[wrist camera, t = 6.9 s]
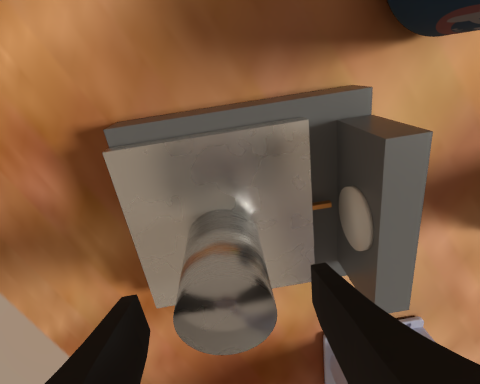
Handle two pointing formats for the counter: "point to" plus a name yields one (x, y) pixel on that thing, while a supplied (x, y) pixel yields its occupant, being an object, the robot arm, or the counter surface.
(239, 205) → the scale pan
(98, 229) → the counter surface
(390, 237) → the scale
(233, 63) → the counter surface
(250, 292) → the steel weight
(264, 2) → the counter surface
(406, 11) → the soda can
